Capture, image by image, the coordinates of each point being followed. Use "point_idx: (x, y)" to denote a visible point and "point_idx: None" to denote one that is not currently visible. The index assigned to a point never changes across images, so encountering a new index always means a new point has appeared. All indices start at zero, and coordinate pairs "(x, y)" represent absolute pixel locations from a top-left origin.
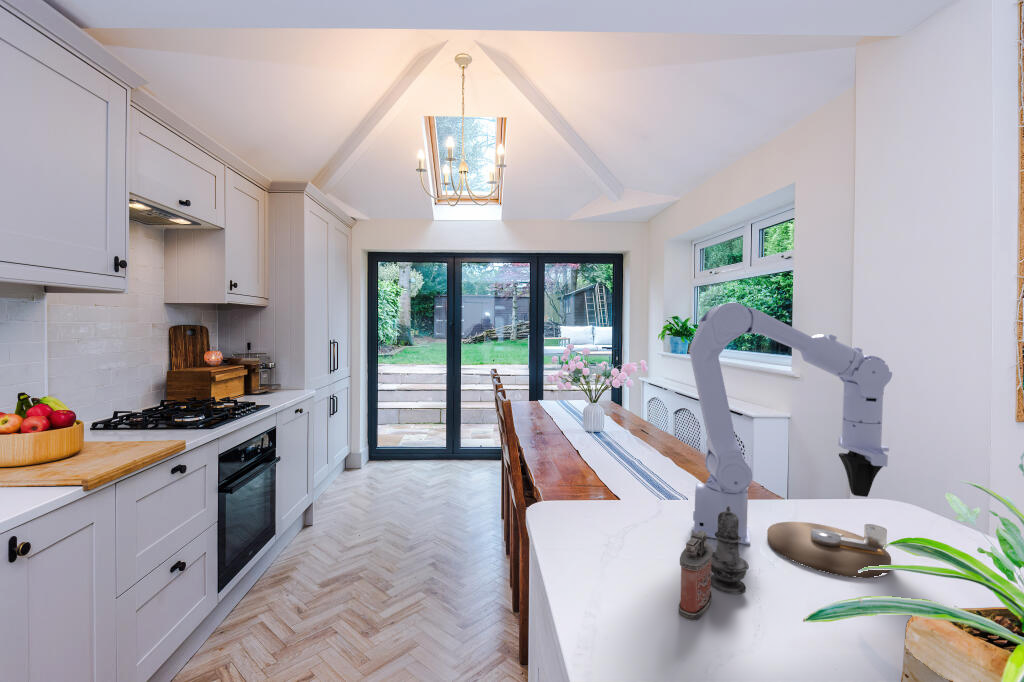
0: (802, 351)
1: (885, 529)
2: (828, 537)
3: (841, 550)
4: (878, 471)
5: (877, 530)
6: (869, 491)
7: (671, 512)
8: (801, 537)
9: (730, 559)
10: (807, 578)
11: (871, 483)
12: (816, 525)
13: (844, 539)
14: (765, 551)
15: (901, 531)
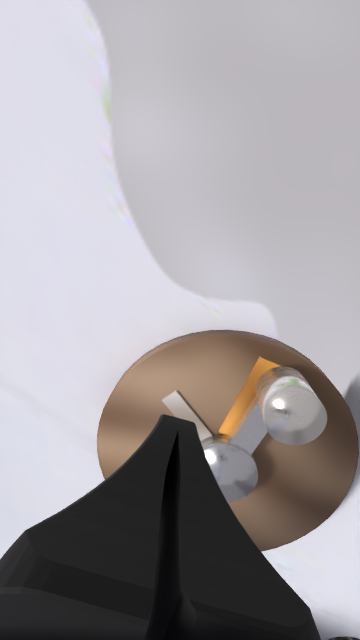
0: None
1: (311, 399)
2: (244, 481)
3: (266, 451)
4: (256, 547)
5: (318, 431)
6: (196, 433)
7: None
8: None
9: None
10: (337, 543)
11: (211, 472)
12: (115, 415)
13: (248, 445)
14: None
15: (68, 131)
